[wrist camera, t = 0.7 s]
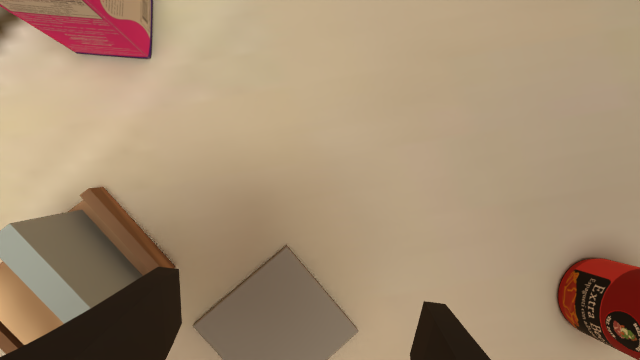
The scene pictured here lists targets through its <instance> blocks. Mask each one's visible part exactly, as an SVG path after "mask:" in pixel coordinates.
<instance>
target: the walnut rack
mask: <svg viewBox="0 0 640 360" xmlns="http://www.w3.org/2000/svg"><path fill="white" fill-rule="evenodd" d="M80 196H81V197H82V198H83V201H82V202H80V203H79V204H78V205H76V206H75V207H74V208H72V209H71V210H70V211H68V212H72V211H77V210H83V211H84V212H85V213H86V214H87V216H88V217H89V218H90V219H91V220H92V221H93V222H94V223H95V224H96V225H97V226H98V228H99V229H100V230H101V231H102V232H103V233H104V234H105V235H106V236H107V237H108V238H109V239H110V241H111V242H112V243H113V244H114V245H115V246H116V247H117V248H118V249H119V250H120V251H121V253H122V254H123V255H124V256H125V257H126V258H127V259H128V260H129V261H130V262H131V263H132V264H133V266H134V267H135V268H136V269H137V270H138V271H139V272H140V273H141V274H142V275H143V276H144V275H145V274H147V273H148V272H150V271H152V270H153V269H155V268H157V267H166V268H174V267H175V266H174V265H173V264H172V263H171V262H170V261H169V259H168V258H167V257H166V256H165V255H164V254H163V253H162V252H161V251H160V249H159V248H158V247H157V246H156V245H155V244H154V243H153V242H152V241H151V240H150V238H149V237H148V236H147V235H146V234H145V233H144V232H143V231H142V230H141V228H140V227H139V226H138V225H137V224H136V223H135V222H134V221H133V220H132V218H131V217H130V216H129V215H128V214H127V213H126V212H125V211H124V210H123V208H122V207H121V206H120V205H119V204H118V203H117V202H116V201H115V200H114V199H113V197H112V196H111V195H110V194H109V193H108V192H107V191H106V190H105V189H104V187H100V188H89V189H87V190H86V191H85V192H83V193H82V194H81V195H80ZM4 266H6V264H5V263H4V262H2V263H0V269H2V268H3V267H4ZM22 346H24V344H23V343H22V342H21V341H20V340H19V339H18V338H17V337H16V336H15V335H14V334H13V333H12V332H11V331H10V330H9V329H8V328H7V327H6V326H5V325H4V324H3V323H2V322H1V321H0V348H1V349H2V350H3V351H4V352H5V353H6V354H8V353H10V352H12V351H14V350H16V349H18V348H20V347H22Z"/></svg>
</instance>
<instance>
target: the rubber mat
mask: <svg viewBox="0 0 640 360" xmlns="http://www.w3.org/2000/svg"><path fill="white" fill-rule="evenodd" d="M193 327H194V328H195V329H196V330H197V331H198V332H199V334H200V335H201V336H202V337H203V338H204V339H205V340H206V341H207V342H208V343H209V344H210V346H211V347H212V348H213V349H214V350H215V351H216V352H217V353H218V354H219V355H220V356H221V358H222V359H223V360H328V359H329V358H330V357H331V356H332V355H333V354H334V353H335V352H336V351H337V350H339V349H340V348H341V347H342V346H343V345H344V344H345V343H346V342H347V341H348V340H350V339H351V338H352V337H353V336H354V335H355V334H356V333H357V332H358V330H357V328H356V327H355V326H354V324H353V323H352V322H351V321H350V320H349V319H348V317H347V316H346V315H345V314H344V313H343V311H342V310H341V309H340V308H339V307H338V306H337V304H336V303H335V302H334V301H333V300H332V298H331V297H330V296H329V295H328V294H327V293H326V291H325V290H324V289H323V288H322V287H321V286H320V284H319V283H318V282H317V281H316V280H315V278H314V277H313V276H312V275H311V274H310V273H309V271H308V270H307V269H306V268H305V267H304V265H303V264H302V263H301V262H300V261H299V260H298V258H297V257H296V256H295V255H294V254H293V252H292V251H291V250H290V249H289V248H288V247H287V245H286V246H285V247H284V248H283V249H282V250H280V251H279V252H278V253H277V254H276V255H275V256H273V257H272V258H271V259H270V260H269V261H267V262H266V263H265V264H264V265H263V266H262V267H260V268H259V269H258V270H257V271H256V272H254V273H253V274H252V275H251V276H250V277H249V278H247V279H246V280H245V281H244V282H243V283H241V284H240V285H239V286H238V287H237V288H236V289H234V290H233V291H232V292H231V293H230V294H228V295H227V296H226V297H225V298H224V299H223V300H221V301H220V302H219V303H218V304H217V305H215V306H214V307H213V308H212V309H211V310H210V311H208V312H207V313H206V314H205V315H204V316H203V317H201V318H200V319H199V320H198V321H197V322H195V323H194V325H193Z"/></svg>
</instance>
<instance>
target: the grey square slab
mask: <svg viewBox="0 0 640 360" xmlns="http://www.w3.org/2000/svg"><path fill="white" fill-rule="evenodd" d="M0 258H1V260H2V261H3V262H4V263H5V264H6V265H7V266H8V267H9V268H10V269H11V270H12V271H13V272H14V273H15V274H16V275H17V276H18V277H19V278H20V279H21V280H22V281H23V282H24V283H25V284H26V285H27V286H28V287H29V288H30V289H31V290H32V291H33V292H34V293H35V294H36V295H37V296H38V298H39V299H40V300H41V301H42V302H43V303H44V304H45V305H46V306H47V307H48V308H49V309H50V310H51V311H52V312H53V313H54V314H55V315H56V316H57V317H58V318H59V319H60V320H61V321H62V322H63V323H66V322H68V321H70V320H71V319H73V318H75V317H77V316H78V315H80V314H82V313H84V312H86V311H87V310H89V309H91V308H92V307H94V306H96V305H97V304H99V303H100V302H102V301H104V300H105V299H107V298H108V297H110V296H112V295H113V294H115V293H117V292H118V291H120V290H121V289H123V288H125V287H126V286H128V285H129V284H131V283H132V282H134V281H136V280H137V279H139V278H140V277H142V276H143V275H142V274H141V273H140V272H139V271H138V270H137V269H136V268H135V267H134V266H133V264H132V263H131V262H130V261H129V260H128V259H127V258H126V257H125V256H124V255H123V254H122V253H121V251H120V250H119V249H118V248H117V247H116V246H115V245H114V244H113V243H112V242H111V241H110V239H109V238H108V237H107V236H106V235H105V234H104V233H103V232H102V231H101V230H100V229H99V228H98V226H97V225H96V224H95V223H94V222H93V221H92V220H91V219H90V218H89V217H88V216H87V214H86V213H85V212H84V211H83V210H77V211H72V212H67V213H61V214H56V215H51V216H46V217H41V218H36V219H30V220H25V221H20V222H15V223H10V224H8V225H7V226H6V227H4V228H3V229H2V230H0Z"/></svg>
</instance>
